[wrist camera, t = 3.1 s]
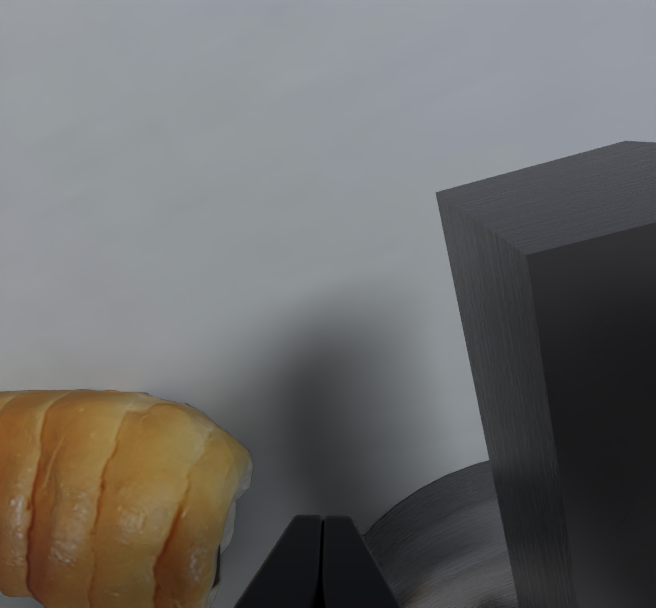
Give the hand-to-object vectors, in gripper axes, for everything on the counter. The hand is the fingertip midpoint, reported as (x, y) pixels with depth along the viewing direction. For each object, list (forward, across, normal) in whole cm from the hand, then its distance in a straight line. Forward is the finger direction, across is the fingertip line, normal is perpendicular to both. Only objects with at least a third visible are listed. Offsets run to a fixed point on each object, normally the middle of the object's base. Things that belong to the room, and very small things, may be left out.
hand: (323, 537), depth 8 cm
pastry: (+7, +6, +4) cm, 11 cm away
